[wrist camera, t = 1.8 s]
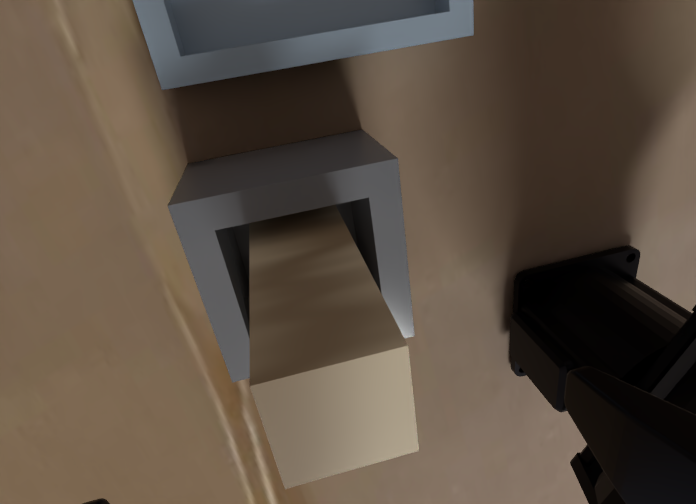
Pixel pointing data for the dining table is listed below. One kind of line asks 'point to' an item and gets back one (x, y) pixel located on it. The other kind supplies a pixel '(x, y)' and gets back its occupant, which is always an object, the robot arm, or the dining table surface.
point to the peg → (324, 351)
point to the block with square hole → (283, 199)
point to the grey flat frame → (285, 33)
